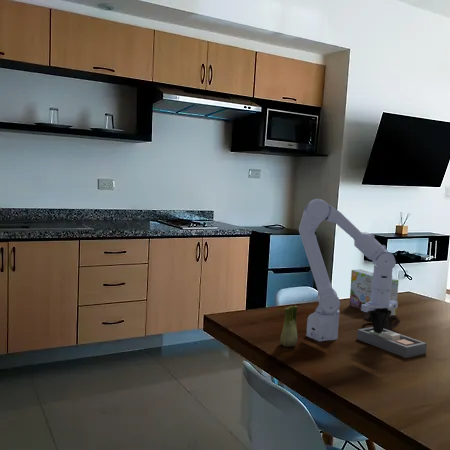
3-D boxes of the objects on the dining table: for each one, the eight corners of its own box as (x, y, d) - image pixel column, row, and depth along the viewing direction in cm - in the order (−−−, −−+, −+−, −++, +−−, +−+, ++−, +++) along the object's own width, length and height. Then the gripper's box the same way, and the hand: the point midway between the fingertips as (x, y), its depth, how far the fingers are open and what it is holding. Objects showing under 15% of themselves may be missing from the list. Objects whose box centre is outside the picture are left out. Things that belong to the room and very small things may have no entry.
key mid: (391, 343, 145) (392, 336, 145) (381, 340, 148) (382, 332, 148) (399, 342, 147) (400, 334, 147) (389, 338, 150) (390, 331, 150)
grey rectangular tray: (405, 361, 138) (406, 347, 137) (356, 342, 153) (357, 329, 152) (425, 356, 142) (426, 343, 142) (376, 338, 158) (377, 326, 157)
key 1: (377, 342, 149) (378, 334, 149) (368, 338, 152) (369, 331, 152) (385, 340, 151) (386, 333, 151) (376, 337, 154) (377, 329, 154)
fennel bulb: (293, 342, 149) (295, 303, 148) (301, 348, 144) (304, 308, 143) (276, 343, 147) (278, 304, 146) (283, 349, 142) (286, 308, 141)
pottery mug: (363, 334, 163) (360, 310, 167) (367, 339, 171) (364, 316, 175) (401, 330, 159) (397, 305, 163) (403, 336, 167) (399, 312, 171)
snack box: (347, 305, 200) (350, 269, 198) (358, 305, 202) (361, 269, 201) (385, 320, 181) (388, 279, 179) (396, 319, 183) (400, 279, 182)
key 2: (405, 352, 141) (406, 344, 141) (395, 348, 144) (395, 340, 144) (413, 350, 143) (414, 342, 143) (403, 347, 146) (403, 339, 146)
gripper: (375, 293, 143) (372, 339, 144) (407, 290, 151) (403, 333, 152) (357, 288, 149) (353, 332, 150) (388, 285, 157) (385, 326, 158)
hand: (377, 332), depth 151 cm, fingers closed, pressing on key 1
